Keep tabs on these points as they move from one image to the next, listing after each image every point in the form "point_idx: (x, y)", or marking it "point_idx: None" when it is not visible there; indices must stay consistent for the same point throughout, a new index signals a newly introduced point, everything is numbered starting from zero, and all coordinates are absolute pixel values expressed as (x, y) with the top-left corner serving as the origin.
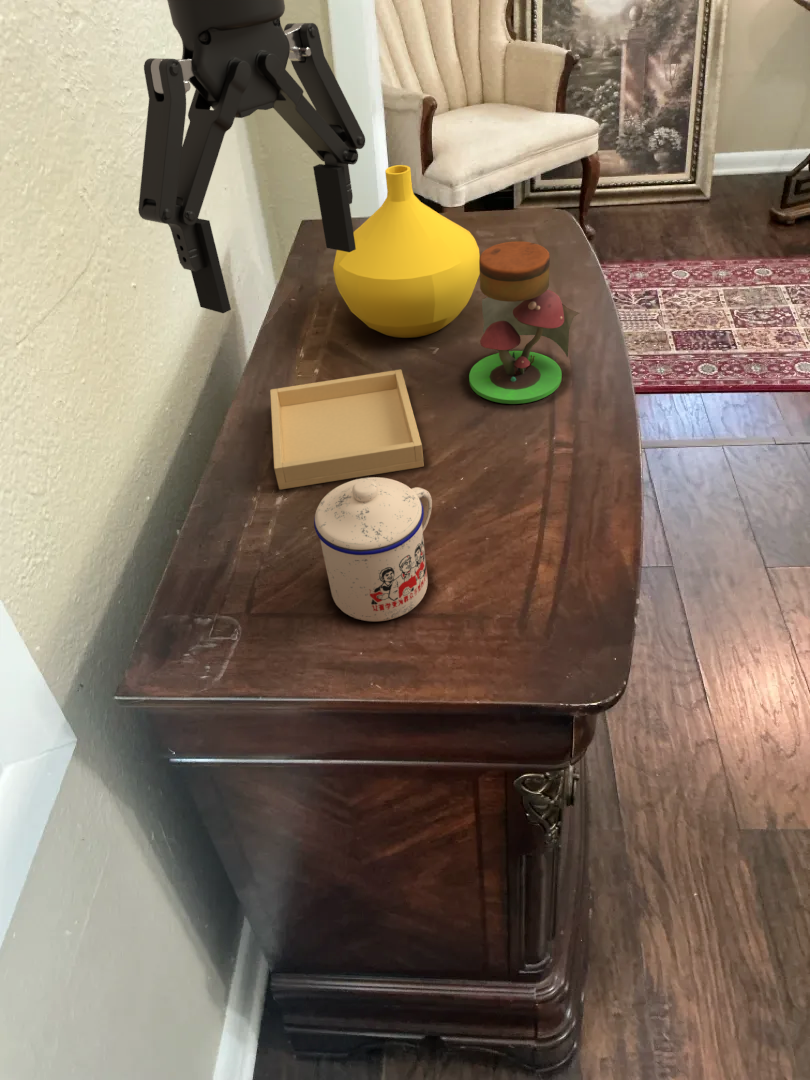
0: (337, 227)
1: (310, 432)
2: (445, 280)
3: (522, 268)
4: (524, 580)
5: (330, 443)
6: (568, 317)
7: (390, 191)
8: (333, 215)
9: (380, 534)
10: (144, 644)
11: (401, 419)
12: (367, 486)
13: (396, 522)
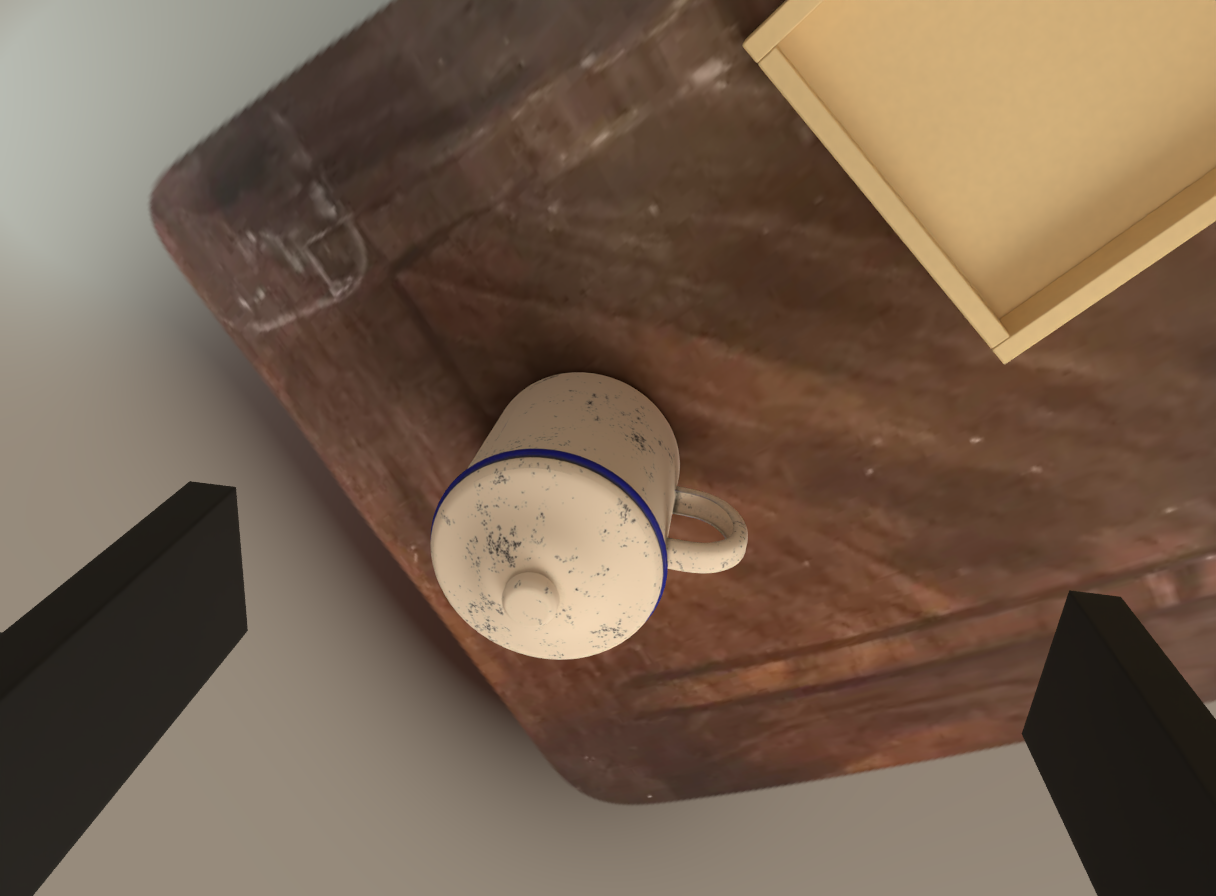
0: (1083, 770)
1: None
2: None
3: None
4: (733, 653)
5: (980, 54)
6: None
7: None
8: (1118, 806)
9: (488, 631)
10: (208, 137)
11: (1173, 184)
12: (529, 615)
13: (532, 643)
